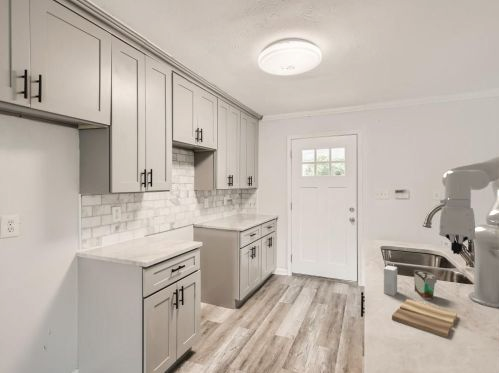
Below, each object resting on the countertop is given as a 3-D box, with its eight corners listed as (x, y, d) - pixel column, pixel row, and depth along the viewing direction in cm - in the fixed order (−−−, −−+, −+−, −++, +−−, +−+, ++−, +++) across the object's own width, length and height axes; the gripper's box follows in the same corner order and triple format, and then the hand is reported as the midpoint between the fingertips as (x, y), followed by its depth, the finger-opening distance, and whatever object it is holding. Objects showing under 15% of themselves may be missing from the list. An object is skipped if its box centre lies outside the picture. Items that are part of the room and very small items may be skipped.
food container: (442, 304, 110) (442, 280, 110) (425, 303, 111) (425, 279, 111) (428, 292, 122) (429, 270, 122) (413, 291, 123) (413, 269, 123)
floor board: (404, 303, 111) (404, 297, 111) (460, 319, 98) (460, 312, 98) (388, 322, 97) (388, 315, 97) (451, 343, 84) (451, 335, 84)
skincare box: (386, 291, 123) (387, 265, 123) (397, 294, 120) (397, 266, 120) (383, 295, 118) (383, 268, 118) (394, 298, 116) (394, 270, 115)
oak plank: (406, 302, 109) (407, 299, 109) (456, 317, 98) (456, 312, 98) (399, 310, 103) (399, 306, 103) (452, 326, 91) (452, 322, 91)
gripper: (431, 203, 103) (430, 251, 104) (483, 205, 93) (482, 259, 93) (435, 202, 109) (434, 248, 109) (485, 204, 98) (483, 255, 99)
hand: (456, 253), depth 101 cm, fingers closed
